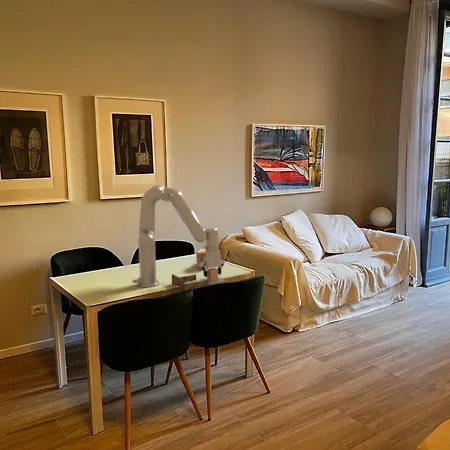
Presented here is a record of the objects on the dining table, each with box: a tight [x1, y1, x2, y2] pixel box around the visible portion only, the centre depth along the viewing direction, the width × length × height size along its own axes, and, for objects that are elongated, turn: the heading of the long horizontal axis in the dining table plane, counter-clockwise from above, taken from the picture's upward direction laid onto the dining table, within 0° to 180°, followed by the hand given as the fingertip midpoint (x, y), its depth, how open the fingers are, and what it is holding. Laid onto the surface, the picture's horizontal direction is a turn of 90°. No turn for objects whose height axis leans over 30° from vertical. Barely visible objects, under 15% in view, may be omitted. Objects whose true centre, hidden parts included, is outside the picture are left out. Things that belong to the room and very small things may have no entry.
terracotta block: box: [206, 267, 219, 282], centre depth 282 cm, size 5×5×7 cm
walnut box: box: [171, 273, 208, 291], centre depth 274 cm, size 16×15×6 cm
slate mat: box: [199, 276, 227, 286], centre depth 283 cm, size 12×12×1 cm
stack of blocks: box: [195, 248, 206, 271], centre depth 317 cm, size 21×6×12 cm, turn 170°
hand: (212, 275), depth 282 cm, fingers open, 9 cm apart
